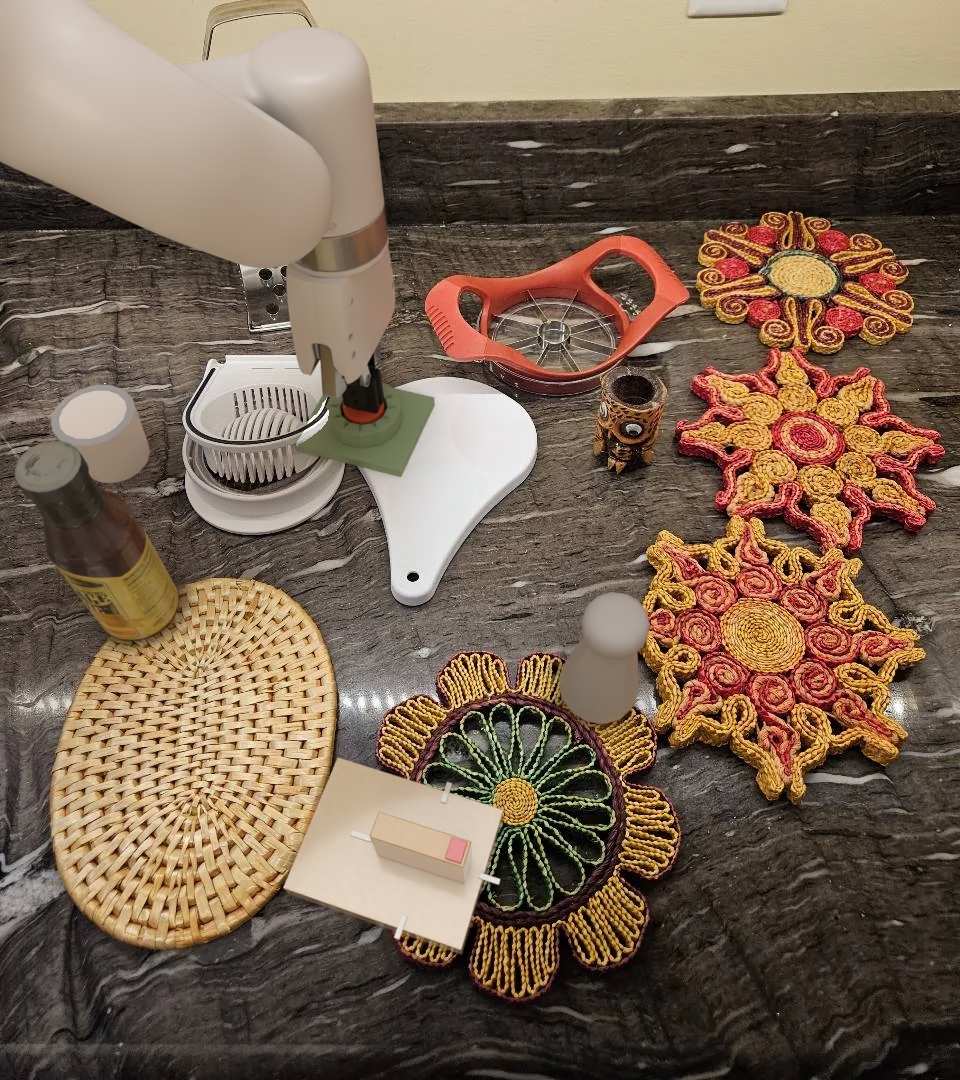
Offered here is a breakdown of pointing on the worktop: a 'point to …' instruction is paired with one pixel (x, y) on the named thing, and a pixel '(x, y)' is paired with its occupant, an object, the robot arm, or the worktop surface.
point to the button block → (373, 433)
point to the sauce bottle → (97, 543)
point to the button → (362, 415)
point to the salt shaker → (605, 659)
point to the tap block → (383, 884)
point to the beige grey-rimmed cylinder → (103, 431)
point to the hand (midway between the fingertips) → (364, 403)
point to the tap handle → (421, 847)
